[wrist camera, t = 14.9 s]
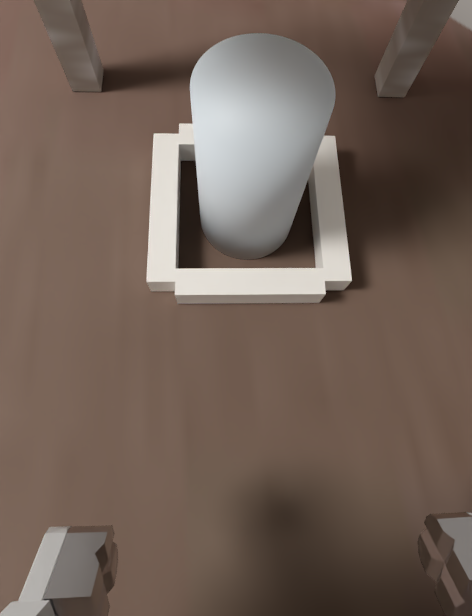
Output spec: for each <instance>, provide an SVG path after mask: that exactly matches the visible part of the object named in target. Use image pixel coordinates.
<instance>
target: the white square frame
mask: <svg viewBox="0 0 472 616" xmlns="http://www.w3.org/2000/svg"><path fill="white" fill-rule="evenodd" d="M181 161H196V158H195V146H194V133H193V124H179V134H155V133H154V139H153V159H152V180H151V200H150V221H149V241H148V262H147V284H148V286H149V288H150V290H151V291H175V297H176V300H177V304H228V303H319V302H320V301H321V300H322V298H323V297H324V296H325V295H326V290H344V289H345V288H346V287H347V286H348V285H349V284H350V283H351V281H352V276H351V267H350V259H349V250H348V242H347V233H346V225H345V216H344V208H343V199H342V191H341V182H340V174H339V165H338V157H337V148H336V140H335V136H323V139H322V142H321V145H320V147H319V150H318V153H317V156H316V159H315V161H314V164H313V167H312V170H311V173H310V175H309V178H308V185H309V196H310V207H311V219H312V230H313V241H314V252H315V263H316V268H184V269H178V266H179V223H180V180H181Z"/></svg>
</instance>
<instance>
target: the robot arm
mask: <svg viewBox="0 0 472 616" xmlns="http://www.w3.org/2000/svg"><path fill="white" fill-rule="evenodd" d="M424 523H425V525H426V527H427V528H426V529H425V530H424V531H422V532H421V533H420V535H419V538H418V553H419V557H420V560H421V563H422V565H423V568H424V570H425V572H426V574H428V575H429V576H430V577H431V578H432V579H433V580H434V581H435V582H436V585H435V591H434V592H435V595H436V597H437V599H438V601H439V603H440V606H441V608H442V610H443V612H444V614H445V616H472V512H469V513H466V512H459V513H441V514H430V515H428V516H426V519H425V521H424ZM113 538H114V530H113V526H112V525H106V526H62V527H50V528H49V529H48V530H47V532H46V533H45V535H44V537H43V540H42V542H41V545H40V547H39V550H38V552H37V555H36V557H35V560H34V562H33V565H32V568H31V570H30V573H29V575H28V578H27V580H26V583H25V585H24V588H23V590H22V593H21V595H20V598H19V600H18V601H12V602H11V603H10V604H9V605H8V606H7V607H6V608H5V609H4V610H3V611H2V612H1V613H0V616H108V613H109V608H110V605H109V601H108V596H107V594H108V593H109V591H110V590H111V589H112V588H113V587H114V584H115V579H116V574H117V565H118V549H117V544H116V543H114V542H113Z"/></svg>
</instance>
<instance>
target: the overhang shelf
mask: <svg viewBox="0 0 472 616" xmlns="http://www.w3.org/2000/svg"><path fill="white" fill-rule="evenodd" d="M458 1H459V0H407V3H406V5H405V7H404V10H403V12H402V14H401V16H400V19H399V21H398V23H397V25H396V28H395V30H394V32H393V35H392V37H391V39H390V41H389V44H388V46H387V48H386V50H385V53H384V55H383V57H382V60H381V62H380V64H379V66H378V69H377V71H376V73H375V82H376V88H377V94H378V97H405V96H406V94H407V92H408V90H409V88H410V87H411V85H412V83H413V81H414V80H415V78H416V76H417V74H418V72H419V71H420V69H421V67H422V65H423V63H424V62H425V60H426V58H427V56H428V54H429V53H430V51H431V49H432V47H433V45H434V44H435V42H436V40H437V38H438V37H439V35H440V33H441V31H442V29H443V28H444V26H445V24H446V22H447V20H448V19H449V17H450V15H451V13H452V11H453V10H454V8H455V6H456V4H457V3H458ZM34 2H35V5H36V7H37V9H38V12H39V14H40V16H41V19H42V21H43V23H44V26H45V28H46V30H47V33H48V35H49V37H50V40H51V42H52V44H53V47H54V49H55V51H56V54H57V56H58V58H59V61H60V63H61V65H62V68H63V70H64V72H65V75H66V77H67V79H68V82H69V84H70V86H71V89H72V91H86V92H101V90H102V80H103V67H102V64H101V60H100V57H99V54H98V51H97V48H96V45H95V42H94V38H93V35H92V32H91V29H90V26H89V23H88V19H87V16H86V13H85V10H84V7H83V4H82V1H81V0H34Z"/></svg>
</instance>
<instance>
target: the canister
mask: <svg viewBox="0 0 472 616" xmlns="http://www.w3.org/2000/svg"><path fill="white" fill-rule="evenodd" d="M190 96H191V109H192V121H193V133H194V146H195V158H196V170H197V183H198V195H199V207H200V220H201V226H202V230H203V233H204V235H205V237H206V238H207V240H208V241H209V242H210V244H211V245H212V246H213V247H214V248H216V249H217V250H218V251H220V252H221V253H223V254H225V255H227V256H230V257H233V258H237V259H244V260H250V259H258V258H262V257H265V256H267V255H269V254H271V253H273V252H274V251H276V250H277V249H278V248H279V247H280V246H281V245H282V244H283V243H284V241H285V240H286V238H287V236H288V234H289V231H290V228H291V226H292V223H293V220H294V217H295V214H296V212H297V209H298V206H299V203H300V200H301V198H302V195H303V192H304V189H305V186H306V184H307V181H308V178H309V175H310V173H311V170H312V167H313V164H314V161H315V159H316V156H317V153H318V150H319V147H320V145H321V142H322V139H323V136H324V133H325V131H326V128H327V125H328V122H329V120H330V117H331V114H332V111H333V108H334V104H335V97H336V96H335V86H334V81H333V78H332V76H331V74H330V72H329V70H328V68H327V67H326V65H325V64H324V63H323V61H322V60H321V59H320V58H319V57H318V56H317V55H316V54H315V53H314V52H312V51H311V50H310V49H308V48H307V47H305V46H304V45H302V44H300V43H298V42H296V41H294V40H291V39H289V38H286V37H282V36H278V35H273V34H264V33H251V34H243V35H238V36H234V37H231V38H228V39H225V40H223V41H221V42H219V43H217V44H216V45H214V46H213V47H211V48H210V49H209V50H208V51H206V52H205V53H204V54H203V55H202V57H201V58H200V59H199V60H198V62H197V63H196V65H195V67H194V69H193V72H192V75H191V79H190Z"/></svg>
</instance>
